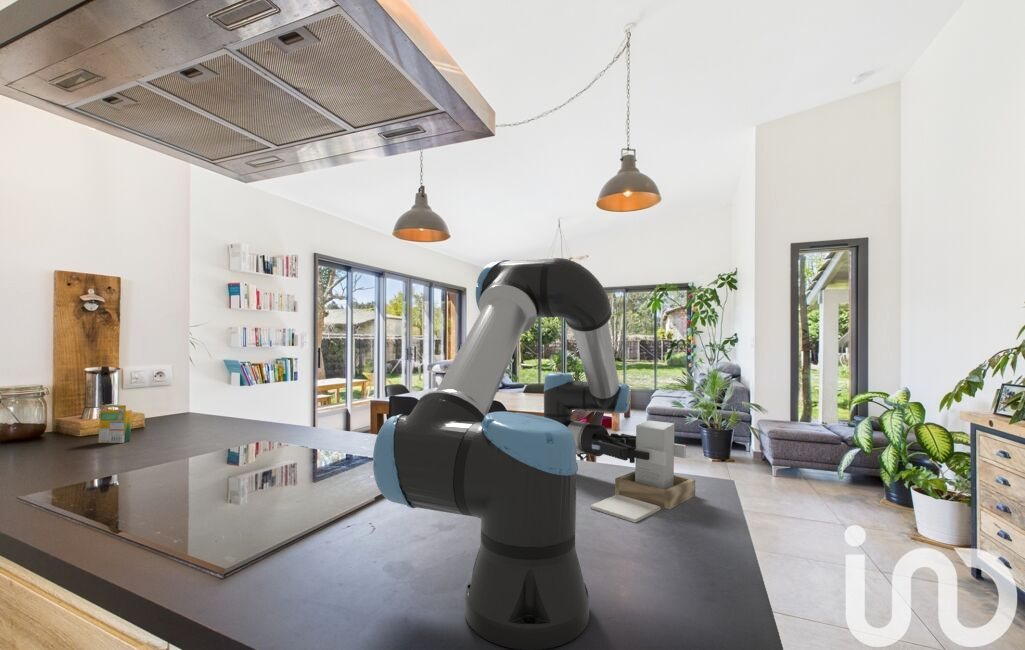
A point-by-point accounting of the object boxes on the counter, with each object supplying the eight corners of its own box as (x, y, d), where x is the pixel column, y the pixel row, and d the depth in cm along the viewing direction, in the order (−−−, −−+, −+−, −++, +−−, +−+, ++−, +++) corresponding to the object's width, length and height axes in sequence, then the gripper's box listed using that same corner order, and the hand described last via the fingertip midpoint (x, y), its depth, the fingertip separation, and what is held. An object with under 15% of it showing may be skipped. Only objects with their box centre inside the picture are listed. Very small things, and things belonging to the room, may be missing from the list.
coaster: (635, 522, 84) (635, 519, 84) (590, 508, 91) (590, 505, 91) (660, 509, 91) (660, 506, 91) (617, 497, 98) (617, 494, 98)
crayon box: (130, 441, 143) (132, 404, 144) (123, 443, 141) (125, 405, 141) (105, 441, 143) (107, 404, 143) (97, 443, 140) (100, 405, 140)
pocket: (669, 509, 91) (669, 491, 91) (615, 494, 100) (615, 478, 100) (695, 495, 100) (695, 479, 100) (643, 482, 109) (643, 468, 109)
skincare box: (647, 487, 105) (647, 419, 106) (676, 493, 101) (676, 423, 102) (633, 496, 98) (634, 424, 99) (664, 503, 95) (664, 428, 95)
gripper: (611, 447, 120) (696, 464, 105) (560, 461, 105) (651, 483, 89) (611, 418, 121) (696, 431, 105) (561, 428, 106) (651, 444, 90)
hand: (675, 455), depth 97 cm, fingers closed on skincare box, 9 cm apart
